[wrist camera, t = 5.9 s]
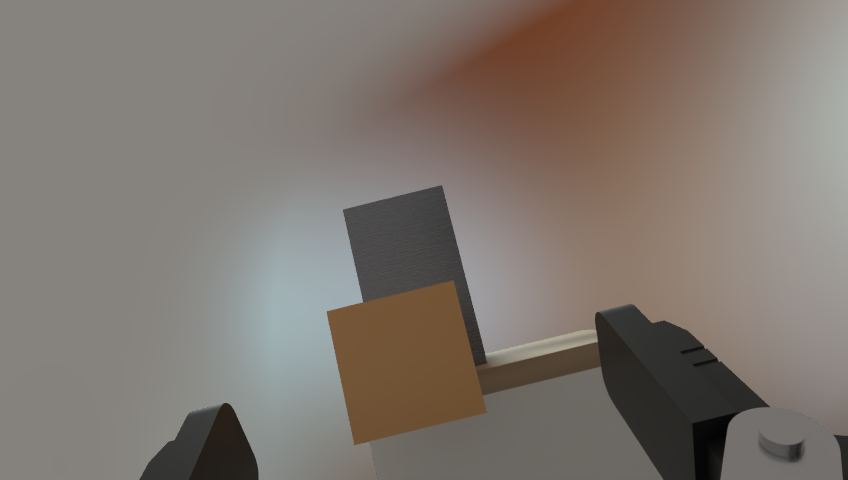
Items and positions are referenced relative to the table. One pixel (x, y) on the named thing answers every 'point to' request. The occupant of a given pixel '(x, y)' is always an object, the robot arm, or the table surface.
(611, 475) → the plinth
